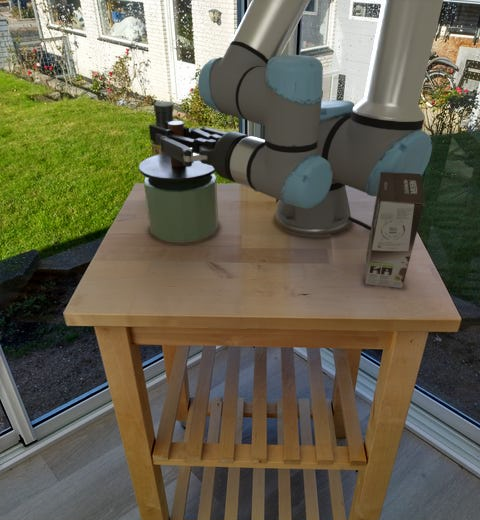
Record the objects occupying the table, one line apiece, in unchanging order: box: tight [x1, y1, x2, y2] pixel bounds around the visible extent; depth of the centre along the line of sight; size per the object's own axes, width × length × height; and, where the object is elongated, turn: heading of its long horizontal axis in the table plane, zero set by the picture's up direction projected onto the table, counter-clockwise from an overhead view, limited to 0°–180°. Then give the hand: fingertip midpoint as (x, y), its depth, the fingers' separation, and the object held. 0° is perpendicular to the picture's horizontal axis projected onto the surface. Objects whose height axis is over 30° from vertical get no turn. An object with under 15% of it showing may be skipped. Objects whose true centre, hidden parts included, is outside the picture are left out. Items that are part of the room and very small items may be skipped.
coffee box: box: [364, 172, 426, 289], centre depth 80 cm, size 9×6×16 cm
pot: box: [143, 173, 219, 243], centre depth 98 cm, size 14×14×10 cm
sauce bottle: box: [151, 100, 175, 157], centre depth 110 cm, size 7×6×20 cm
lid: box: [138, 120, 216, 182], centre depth 91 cm, size 15×15×9 cm
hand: (159, 130), depth 93 cm, fingers closed on lid, 3 cm apart
